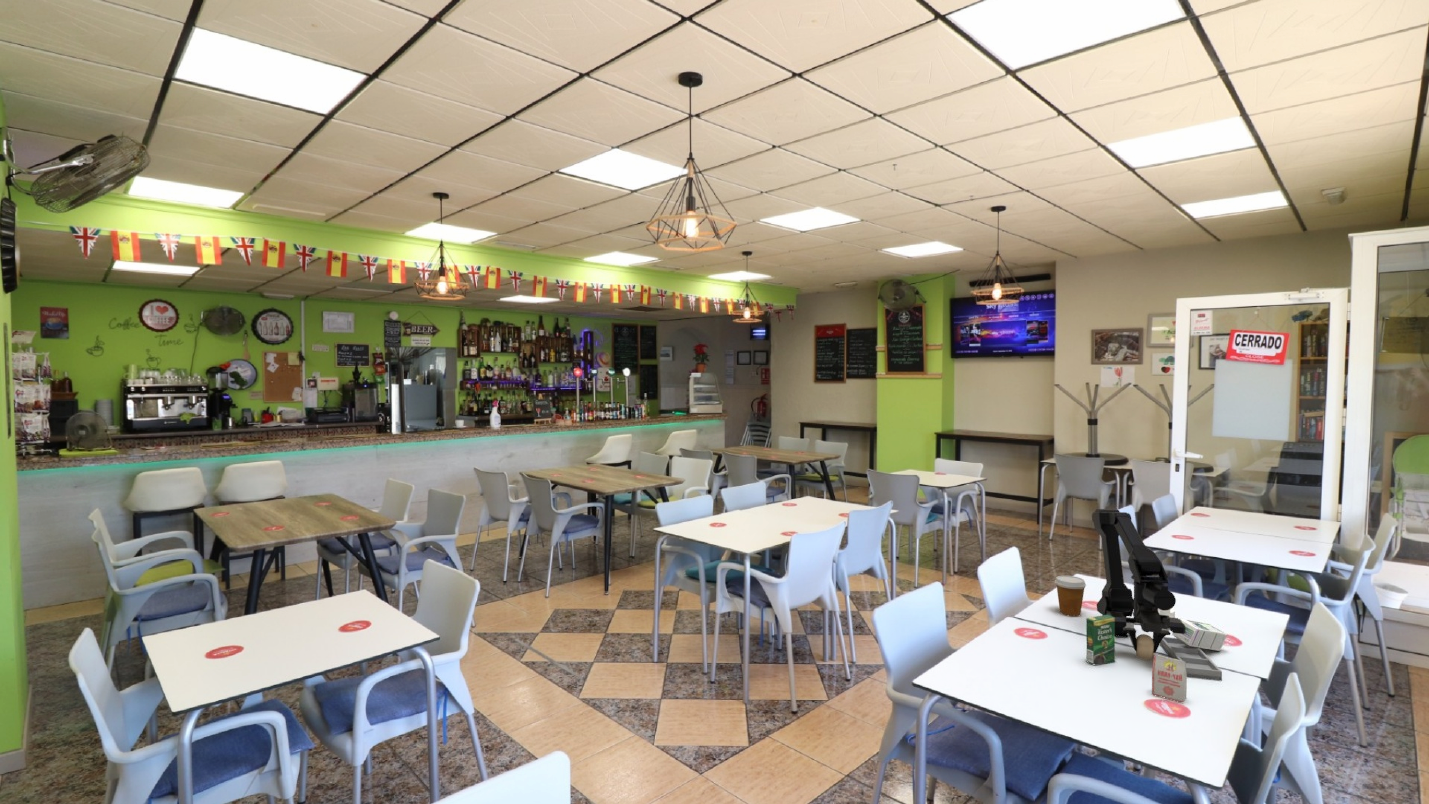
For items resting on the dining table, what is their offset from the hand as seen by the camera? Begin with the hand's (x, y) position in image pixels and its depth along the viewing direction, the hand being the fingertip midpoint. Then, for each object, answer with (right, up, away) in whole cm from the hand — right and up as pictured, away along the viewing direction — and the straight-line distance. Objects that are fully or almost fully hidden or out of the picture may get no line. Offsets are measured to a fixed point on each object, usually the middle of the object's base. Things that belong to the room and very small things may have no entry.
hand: (1144, 651), depth 197 cm
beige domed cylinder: (0, -2, 0) cm, 2 cm away
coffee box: (-15, -2, -3) cm, 15 cm away
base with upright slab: (+20, -1, +24) cm, 31 cm away
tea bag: (-9, -3, -24) cm, 26 cm away
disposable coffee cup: (-2, -1, +37) cm, 37 cm away
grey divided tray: (+10, -2, -3) cm, 11 cm away
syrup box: (+25, +2, +6) cm, 26 cm away
